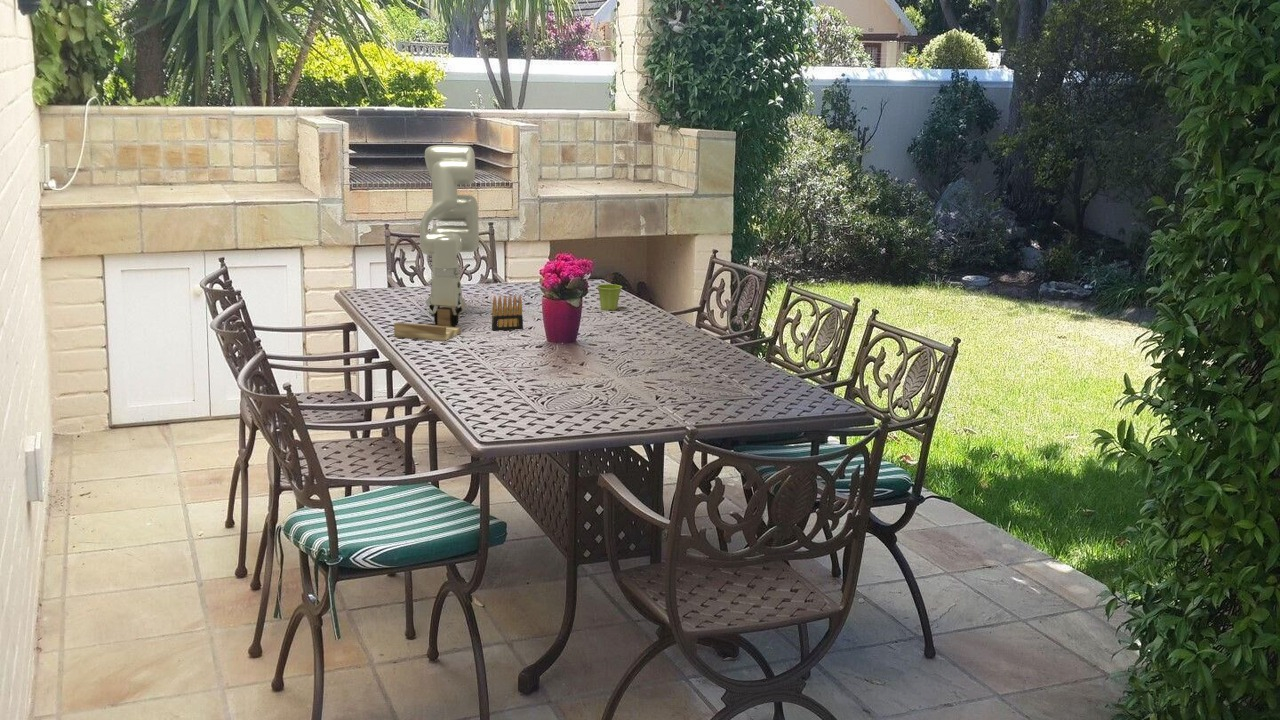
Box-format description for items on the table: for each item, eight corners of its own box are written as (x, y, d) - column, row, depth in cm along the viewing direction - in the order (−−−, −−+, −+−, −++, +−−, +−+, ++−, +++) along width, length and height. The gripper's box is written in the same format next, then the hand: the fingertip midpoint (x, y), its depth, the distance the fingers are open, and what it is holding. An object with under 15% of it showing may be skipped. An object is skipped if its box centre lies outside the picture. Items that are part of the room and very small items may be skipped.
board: (411, 329, 434) (411, 316, 433) (460, 333, 429) (460, 320, 428) (394, 336, 422) (394, 323, 421) (444, 341, 417) (444, 327, 416)
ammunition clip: (521, 328, 440) (521, 294, 437) (523, 329, 438) (523, 295, 436) (491, 329, 436) (491, 295, 434) (492, 331, 435) (492, 296, 432)
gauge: (451, 323, 446) (451, 303, 445) (463, 323, 445) (463, 304, 443) (437, 329, 436) (437, 309, 434) (449, 330, 434) (449, 310, 433)
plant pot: (626, 308, 479) (626, 286, 477) (612, 312, 471) (612, 289, 469) (605, 305, 484) (606, 283, 482) (591, 309, 476) (592, 286, 474)
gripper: (473, 272, 434) (473, 325, 438) (427, 269, 438) (428, 321, 443) (464, 276, 427) (465, 329, 431) (417, 272, 431) (418, 325, 436)
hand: (446, 324), depth 437 cm, fingers open, 5 cm apart
